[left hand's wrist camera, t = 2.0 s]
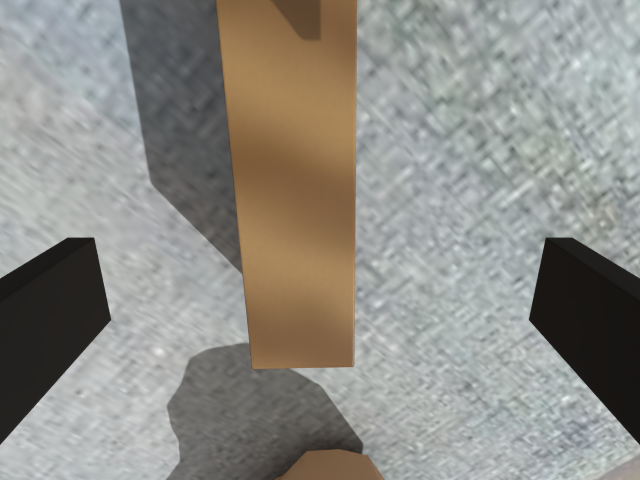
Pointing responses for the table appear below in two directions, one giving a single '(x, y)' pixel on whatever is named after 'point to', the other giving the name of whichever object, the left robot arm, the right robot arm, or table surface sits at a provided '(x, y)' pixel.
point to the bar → (294, 174)
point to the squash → (332, 466)
